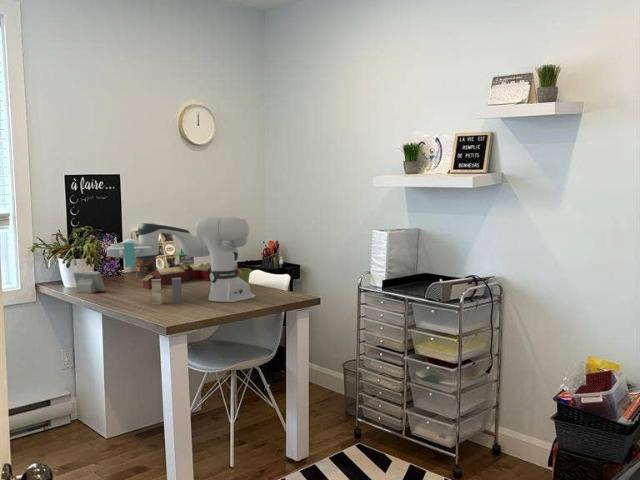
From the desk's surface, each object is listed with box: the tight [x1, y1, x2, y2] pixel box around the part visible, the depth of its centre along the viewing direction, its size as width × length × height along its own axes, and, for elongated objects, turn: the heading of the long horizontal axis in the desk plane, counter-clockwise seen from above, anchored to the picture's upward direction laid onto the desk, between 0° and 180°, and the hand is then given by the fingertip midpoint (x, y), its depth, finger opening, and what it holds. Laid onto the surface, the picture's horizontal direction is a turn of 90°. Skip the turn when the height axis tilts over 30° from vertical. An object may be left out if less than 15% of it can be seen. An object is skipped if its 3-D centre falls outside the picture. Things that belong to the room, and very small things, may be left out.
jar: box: [135, 256, 157, 279], centre depth 358 cm, size 12×12×15 cm
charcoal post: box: [171, 278, 183, 304], centre depth 287 cm, size 4×4×11 cm
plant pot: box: [235, 267, 252, 284], centre depth 328 cm, size 9×9×9 cm
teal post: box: [123, 241, 135, 268], centre depth 286 cm, size 4×4×11 cm
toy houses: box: [140, 262, 211, 290], centre depth 339 cm, size 45×20×10 cm, turn 134°
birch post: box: [151, 279, 162, 306], centre depth 283 cm, size 4×4×11 cm
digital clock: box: [72, 270, 106, 294], centre depth 313 cm, size 16×9×11 cm, turn 60°
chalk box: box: [174, 248, 195, 267], centre depth 374 cm, size 9×9×15 cm
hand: (129, 253), depth 285 cm, fingers closed on teal post, 4 cm apart
